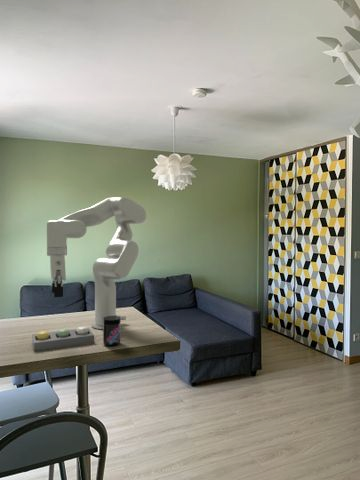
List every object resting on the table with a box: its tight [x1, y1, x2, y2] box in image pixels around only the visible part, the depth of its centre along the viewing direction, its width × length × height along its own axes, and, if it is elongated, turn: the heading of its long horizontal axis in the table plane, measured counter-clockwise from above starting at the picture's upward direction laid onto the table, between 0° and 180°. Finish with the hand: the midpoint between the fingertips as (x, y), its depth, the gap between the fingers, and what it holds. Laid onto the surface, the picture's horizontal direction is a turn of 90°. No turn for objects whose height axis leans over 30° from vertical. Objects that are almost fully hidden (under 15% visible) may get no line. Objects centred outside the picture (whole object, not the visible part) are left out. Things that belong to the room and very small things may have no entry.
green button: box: [56, 328, 70, 338], centre depth 138 cm, size 4×4×2 cm
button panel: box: [31, 327, 95, 352], centre depth 138 cm, size 22×11×3 cm, turn 116°
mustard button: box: [36, 330, 49, 340], centre depth 135 cm, size 4×4×2 cm
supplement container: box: [102, 315, 122, 348], centre depth 136 cm, size 7×7×10 cm
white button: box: [76, 326, 89, 335], centre depth 141 cm, size 4×4×2 cm
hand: (57, 294), depth 138 cm, fingers open, 9 cm apart
